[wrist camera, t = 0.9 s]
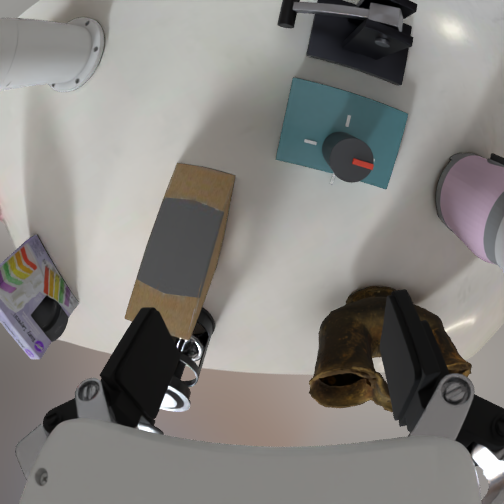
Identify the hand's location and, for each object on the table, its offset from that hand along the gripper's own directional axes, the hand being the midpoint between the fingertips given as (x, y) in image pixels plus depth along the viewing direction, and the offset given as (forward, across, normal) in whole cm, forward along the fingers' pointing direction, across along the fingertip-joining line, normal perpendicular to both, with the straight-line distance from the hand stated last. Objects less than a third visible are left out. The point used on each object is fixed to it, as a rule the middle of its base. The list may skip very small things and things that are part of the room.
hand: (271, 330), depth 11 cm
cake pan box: (+27, +50, +11) cm, 58 cm away
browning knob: (+24, -7, -2) cm, 25 cm away
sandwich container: (+27, +13, +5) cm, 31 cm away
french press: (+28, +20, +24) cm, 42 cm away
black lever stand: (+27, -12, -17) cm, 34 cm away
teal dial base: (+28, -7, -4) cm, 29 cm away
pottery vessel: (+28, -12, +24) cm, 39 cm away
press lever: (+21, -9, -18) cm, 29 cm away
